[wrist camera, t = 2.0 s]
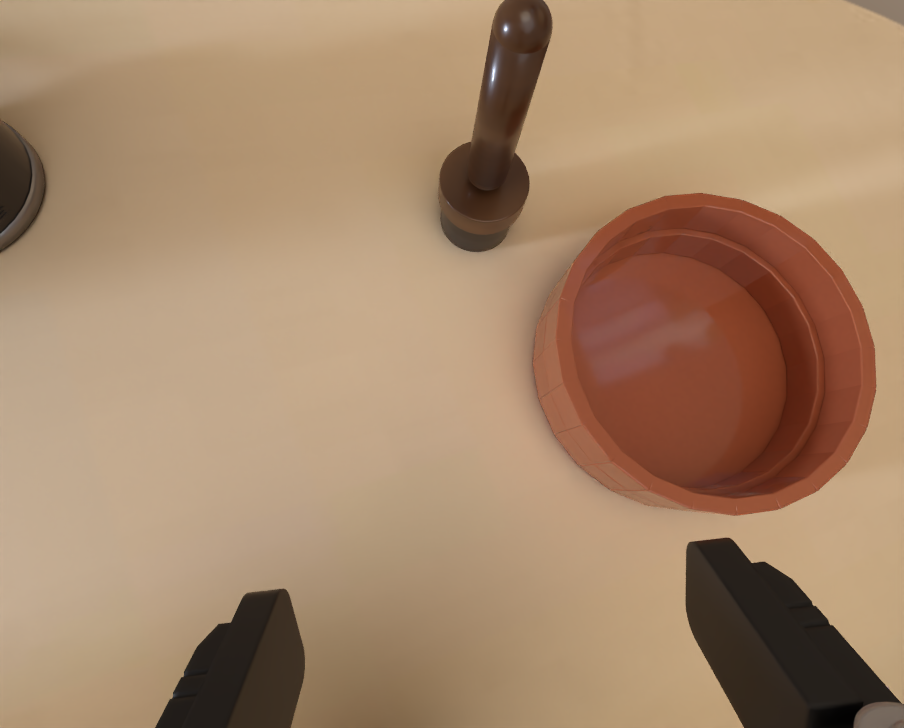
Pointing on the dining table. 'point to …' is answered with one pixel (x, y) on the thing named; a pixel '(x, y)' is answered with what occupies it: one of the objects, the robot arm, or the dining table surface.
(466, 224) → the tamper
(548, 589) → the dining table surface
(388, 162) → the dining table surface
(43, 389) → the dining table surface
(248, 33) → the dining table surface
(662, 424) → the basin
